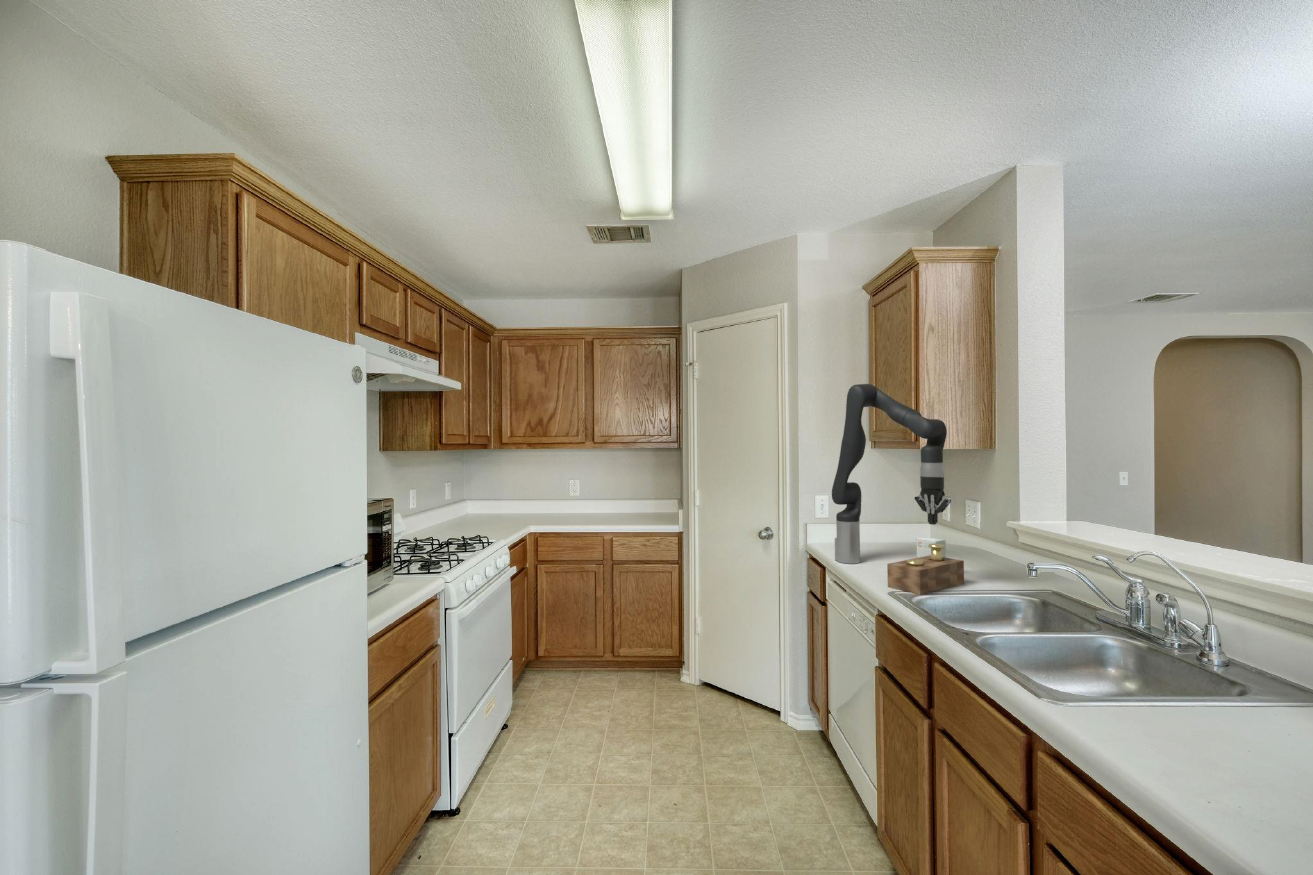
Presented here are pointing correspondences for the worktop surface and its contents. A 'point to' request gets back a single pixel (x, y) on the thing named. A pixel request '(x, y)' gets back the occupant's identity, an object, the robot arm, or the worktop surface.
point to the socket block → (925, 575)
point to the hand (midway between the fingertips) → (932, 524)
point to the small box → (924, 547)
